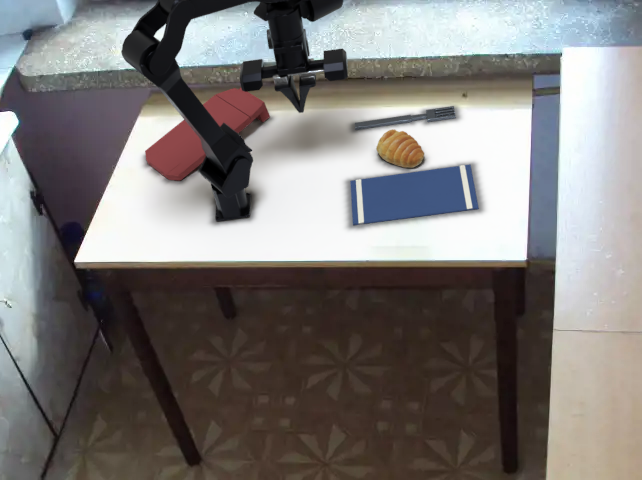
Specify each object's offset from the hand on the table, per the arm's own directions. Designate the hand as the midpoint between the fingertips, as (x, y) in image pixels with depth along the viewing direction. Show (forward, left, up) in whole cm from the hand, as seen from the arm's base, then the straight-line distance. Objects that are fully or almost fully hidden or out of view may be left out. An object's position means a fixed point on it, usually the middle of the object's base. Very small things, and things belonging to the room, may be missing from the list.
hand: (301, 111), depth 172 cm
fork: (+9, -18, -12) cm, 24 cm away
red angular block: (+12, +21, -12) cm, 27 cm away
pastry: (-1, -17, -12) cm, 21 cm away
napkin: (-13, -18, -12) cm, 25 cm away
